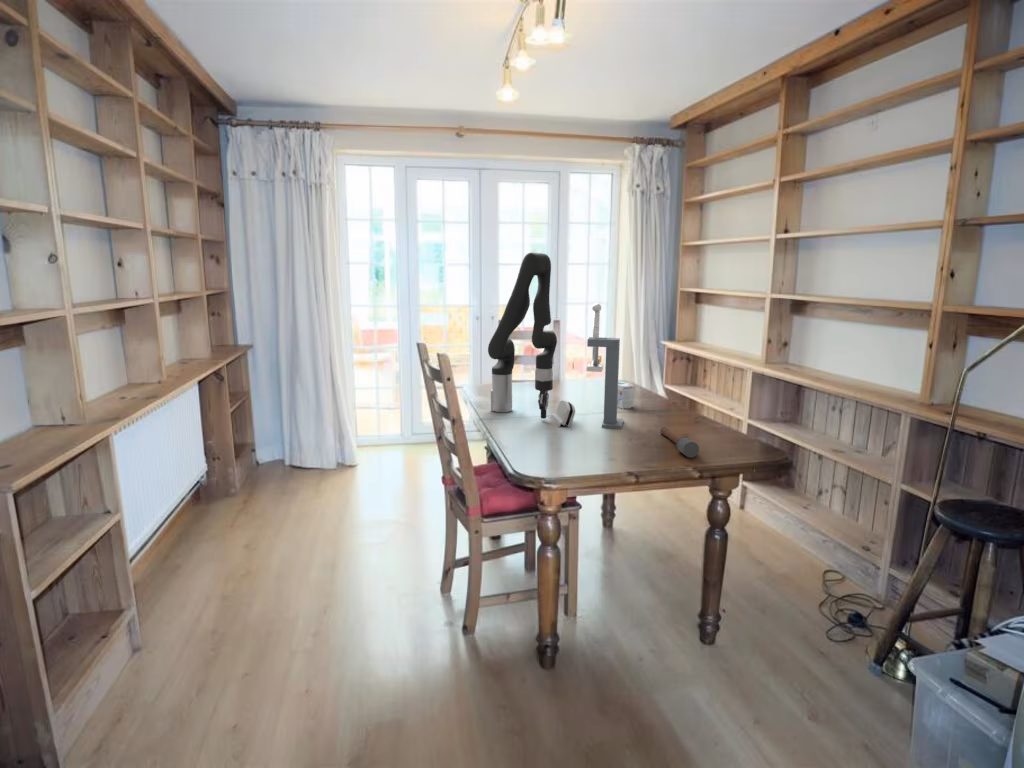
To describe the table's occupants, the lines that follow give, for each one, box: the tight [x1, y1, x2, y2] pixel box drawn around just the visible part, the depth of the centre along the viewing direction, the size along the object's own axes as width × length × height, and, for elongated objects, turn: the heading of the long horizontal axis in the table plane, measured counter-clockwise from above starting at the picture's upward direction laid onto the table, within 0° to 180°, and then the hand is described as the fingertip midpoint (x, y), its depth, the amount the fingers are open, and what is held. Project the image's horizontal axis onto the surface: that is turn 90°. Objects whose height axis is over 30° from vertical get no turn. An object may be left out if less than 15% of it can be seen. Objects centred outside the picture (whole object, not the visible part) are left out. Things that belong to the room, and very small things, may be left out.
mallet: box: [659, 427, 700, 459], centre depth 215 cm, size 6×6×30 cm
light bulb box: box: [617, 381, 636, 410], centre depth 276 cm, size 11×7×11 cm, turn 25°
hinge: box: [550, 400, 576, 428], centre depth 247 cm, size 17×5×10 cm, turn 8°
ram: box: [586, 303, 604, 373], centre depth 244 cm, size 6×20×27 cm, turn 167°
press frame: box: [587, 336, 624, 430], centre depth 241 cm, size 15×12×36 cm
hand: (543, 418), depth 250 cm, fingers closed
